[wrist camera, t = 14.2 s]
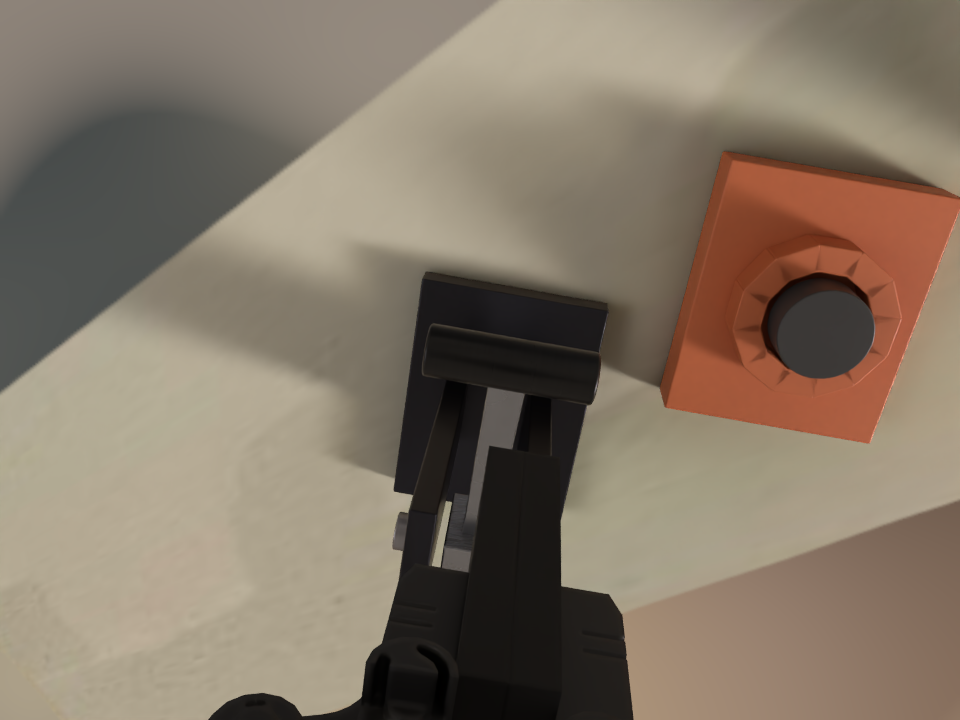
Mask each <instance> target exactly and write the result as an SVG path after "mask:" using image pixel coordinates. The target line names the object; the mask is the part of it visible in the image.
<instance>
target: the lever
mask: <svg viewBox="0 0 960 720" xmlns="http://www.w3.org/2000/svg"><path fill="white" fill-rule="evenodd" d="M600 368H601V356H600V353H598V352H594V351H588V350H582V349H577V348H571V347H565V346H559V345H554V344H548V343H542V342H537V341H531V340H525V339H520V338H514V337H508V336H503V335H497V334H491V333H486V332H480V331H474V330H469V329H463V328H457V327H452V326H446V325H440V324H435V323H434V324H431V326H430V328H429V331H428V335H427V339H426V344H425V349H424V356H423V363H422V374H423V375H424V376H426V377H432V378H438V379H443V380H449V381H455V382H460V383H466V384H472V385H477V386H483V387H488V388H487V394H486V400H485V405H484V411H483V417H482V422H481V428H480V434H479V439H478V445H477V450H476V456H475V462H474V467H473V473H472V479H471V484H470V490H469V495H464V494H459V493H454V495H453V501H452V506H451V511H450V516H449V522H448V527H447V532H446V537H445V543H444V548H443V555H442V561H441V568H445V569H451V570H457V571H463V572H468V569H469V562H470V556H471V549H472V543H473V538H474V532H475V526H476V520H477V514H478V508H479V502H480V496H481V491H482V485H483V479H484V473H485V467H486V461H487V455H488V449H489V446H495V447H501V448H507V449H512V448H513V443H514V439H515V435H516V430H517V426H518V421H519V417H520V413H521V408H522V404H523V399H524V395H525V394H528V395H534V396H540V397H545V398H551V399H556V400H562V401H568V402H573V403H579V404H585V405H591V404H592V402H593V400H594V398H595V395H596V391H597V387H598V382H599V376H600Z"/></svg>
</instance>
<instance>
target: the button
mask: <svg viewBox="0 0 960 720" xmlns="http://www.w3.org/2000/svg"><path fill="white" fill-rule="evenodd" d="M767 327H768V335H769V338H770V341H771V343H772V345H773V346H774V348H775V350H776V351H777V353H778V354H779V356H780V358H781V359H782V361H783V362H784V363H785V365H786V366H787V367H788V368H790V369H791V370H792V371H794V372H795V373H797V374H799V375H802V376H804V377H808V378H814V379H826V378H832V377H836V376H839V375H842V374H844V373H846V372H848V371H850V370H851V369H853V368H854V367H856V366H857V365H858V364H859V363H860V362H861V361H862V360H863V359H864V358H865V357H866V355H867V354H868V352H869V350H870V349H871V346H872V344H873V341H874V337H875V321H874V318H873V315H872V313H871V311H870V309H869V307H868V306H867V305H866V304H865V303H864V302H863V301H862V300H861V299H860V298H859V297H858V296H857V295H856V294H855V293H854V292H853V291H852V290H851V289H850V288H849V287H848V286H846V285H845V284H843V283H841V282H839V281H836V280H832V279H827V278H814V279H808V280H804V281H802V282H799V283H797V284H795V285H793V286H791V287H790V288H788V289H787V290H786V291H785V292H783V293H782V294H781V295H780V296H779V298H778V299H777V300H776V302H775V303H774V305H773V306H772V308H771V311H770V313H769V317H768V324H767Z"/></svg>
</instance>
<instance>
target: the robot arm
mask: <svg viewBox="0 0 960 720" xmlns="http://www.w3.org/2000/svg"><path fill="white" fill-rule="evenodd" d="M624 638H625V636H624V626H623V617H622V614H621V613H620V611H619V610H618V608H617V606H616V605H615V603H614V602H613V600H612V599H611V597H610V595H609V594H603V593H597V592H591V591H586V590H580V589H574V588H568V587H562V586H561V518H560V457H554V456H548V455H542V454H536V453H530V452H525V451H519V450H513V449H507V448H501V447H495V446H489V449H488V455H487V461H486V467H485V473H484V479H483V485H482V491H481V496H480V502H479V508H478V514H477V520H476V526H475V532H474V538H473V543H472V549H471V556H470V562H469V569H468V572H463V571H457V570H451V569H445V568H439V567H434V566H428V565H422V564H416V563H415V564H414V565H413V566H412V567H411V568H410V569H409V570H408V571H407V572H406V573H405V574H404V575H403V576H402V577H401V578H400V579H399V582H398V586H397V589H396V593H395V597H394V601H393V604H392V608H391V612H390V615H389V620H388V623H387V626H386V630H385V634H384V638H383V641H382V644H381V645H379V646H378V647H376V648H375V649H373V651H372V652H371V654H370V656H369V658H368V659H367V661H366V666H365V675H364V683H363V692H362V697H361V699H359V700H358V701H357V702H355V703H354V704H352V705H351V706H349V707H347V708H344V709H342V710H340V711H337V712H333V713H328V714H322V715H312V716H301V714H300V713H299V711H298V710H297V708H296V707H295V705H293V704H292V703H290V702H288V701H287V700H285V699H283V698H282V697H280V696H275V695H270V694H265V693H259V694H248V695H243V696H240V697H238V698H236V699H233V700H231V701H228V702H226V703H225V704H224V705H223V706H222V707H221V708H219V709H218V710H217V711H216V712H215V713H213V715H212V716H211V717H210V718H209V719H208V720H633V711H632V702H631V693H630V683H629V674H628V664H627V660H626V655H627V654H626V646H625V642H624Z"/></svg>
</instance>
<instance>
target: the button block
mask: <svg viewBox="0 0 960 720" xmlns="http://www.w3.org/2000/svg"><path fill="white" fill-rule="evenodd" d="M959 211H960V197H958V196H956V195H954V194H952V193H950V192H948V191H946V190H944V189H941V188H935V187H929V186H924V185H918V184H912V183H906V182H900V181H895V180H889V179H883V178H877V177H871V176H866V175H860V174H854V173H848V172H842V171H837V170H831V169H825V168H819V167H813V166H808V165H802V164H796V163H790V162H784V161H779V160H773V159H767V158H761V157H755V156H750V155H744V154H738V153H732V152H726V151H724V152H723V153H722V157H721V160H720V164H719V168H718V172H717V175H716V179H715V183H714V187H713V190H712V194H711V198H710V202H709V205H708V209H707V213H706V217H705V220H704V224H703V228H702V232H701V235H700V239H699V243H698V247H697V251H696V254H695V258H694V262H693V266H692V269H691V273H690V277H689V281H688V284H687V288H686V292H685V296H684V299H683V303H682V307H681V311H680V314H679V318H678V322H677V326H676V329H675V333H674V337H673V341H672V344H671V348H670V352H669V356H668V359H667V363H666V367H665V371H664V374H663V378H662V382H661V386H660V391H661V395H662V398H663V402H664V406H665V407H666V408H671V409H676V410H682V411H688V412H693V413H699V414H705V415H710V416H716V417H722V418H727V419H733V420H739V421H744V422H750V423H756V424H761V425H767V426H773V427H778V428H784V429H790V430H795V431H801V432H807V433H812V434H818V435H824V436H829V437H835V438H841V439H846V440H852V441H857V442H863V443H870V442H871V439H872V437H873V434H874V432H875V429H876V426H877V424H878V421H879V419H880V416H881V413H882V411H883V408H884V406H885V403H886V400H887V398H888V395H889V393H890V390H891V387H892V385H893V382H894V380H895V377H896V375H897V372H898V369H899V367H900V364H901V362H902V359H903V356H904V354H905V351H906V349H907V346H908V343H909V341H910V338H911V336H912V333H913V331H914V328H915V325H916V323H917V320H918V318H919V315H920V312H921V310H922V307H923V305H924V302H925V299H926V297H927V294H928V292H929V289H930V287H931V284H932V281H933V279H934V276H935V274H936V271H937V268H938V266H939V263H940V261H941V258H942V255H943V253H944V250H945V248H946V245H947V243H948V240H949V237H950V235H951V232H952V230H953V227H954V224H955V222H956V219H957V217H958V214H959ZM814 278H827V279H832V280H836V281H839V282H841V283H843V284H845V285H846V286H848V287H849V288H850V289H851V290H852V291H853V292H854V293H855V294H856V295H857V296H858V297H859V298H860V299H861V300H862V301H863V302H864V303H865V304H866V305H867V306H868V307H869V309H870V311H871V313H872V315H873V318H874V321H875V337H874V341H873V344H872V346H871V349H870V350H869V352H868V354H867V355H866V357H865V358H864V359H863V360H862V361H861V362H860V363H859V364H858V365H857V366H856V367H854V368H853V369H851V370H850V371H848V372H846V373H844V374H842V375H839V376H836V377H832V378H826V379H814V378H808V377H804V376H802V375H799V374H797V373H795V372H794V371H792V370H791V369H790V368H788V367H787V366H786V365H785V363H784V362H783V361H782V359H781V358H780V356H779V354H778V353H777V351H776V350H775V348H774V346H773V345H772V343H771V341H770V338H769V335H768V327H767V324H768V317H769V313H770V311H771V308H772V306H773V305H774V303H775V302H776V300H777V299H778V298H779V296H780V295H781V294H782V293H783V292H785V291H786V290H787V289H788V288H790V287H791V286H793V285H795V284H797V283H799V282H802V281H804V280H808V279H814Z"/></svg>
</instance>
